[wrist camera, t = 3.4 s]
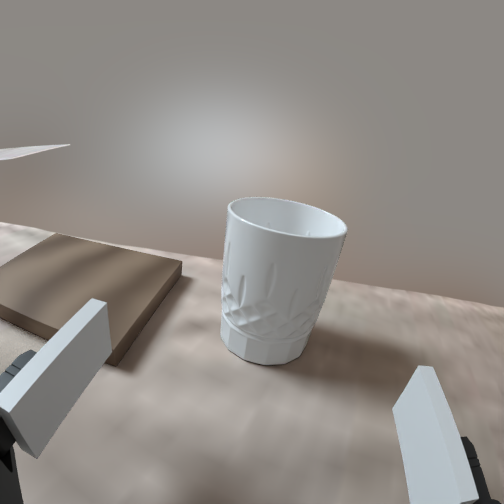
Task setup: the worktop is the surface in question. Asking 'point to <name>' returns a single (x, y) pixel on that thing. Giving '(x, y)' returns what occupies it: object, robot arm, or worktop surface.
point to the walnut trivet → (84, 287)
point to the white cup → (276, 276)
